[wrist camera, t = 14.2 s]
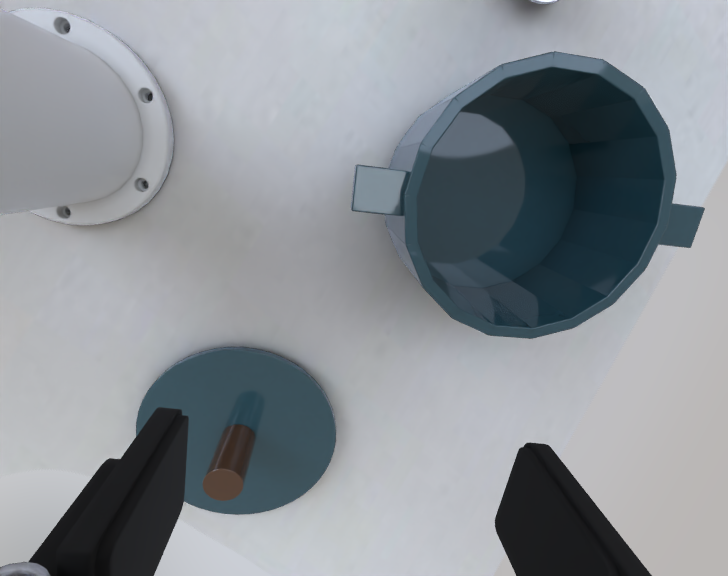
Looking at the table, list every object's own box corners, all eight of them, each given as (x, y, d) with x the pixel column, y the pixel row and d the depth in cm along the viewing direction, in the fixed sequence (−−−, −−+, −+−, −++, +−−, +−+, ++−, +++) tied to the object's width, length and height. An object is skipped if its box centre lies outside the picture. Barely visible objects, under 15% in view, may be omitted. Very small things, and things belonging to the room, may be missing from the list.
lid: (137, 336, 30) (91, 377, 24) (344, 350, 32) (348, 391, 26) (146, 501, 35) (109, 570, 29) (327, 505, 37) (326, 570, 31)
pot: (359, 65, 26) (372, 20, 18) (639, 108, 28) (762, 85, 20) (337, 282, 30) (340, 324, 22) (582, 303, 33) (665, 349, 25)
